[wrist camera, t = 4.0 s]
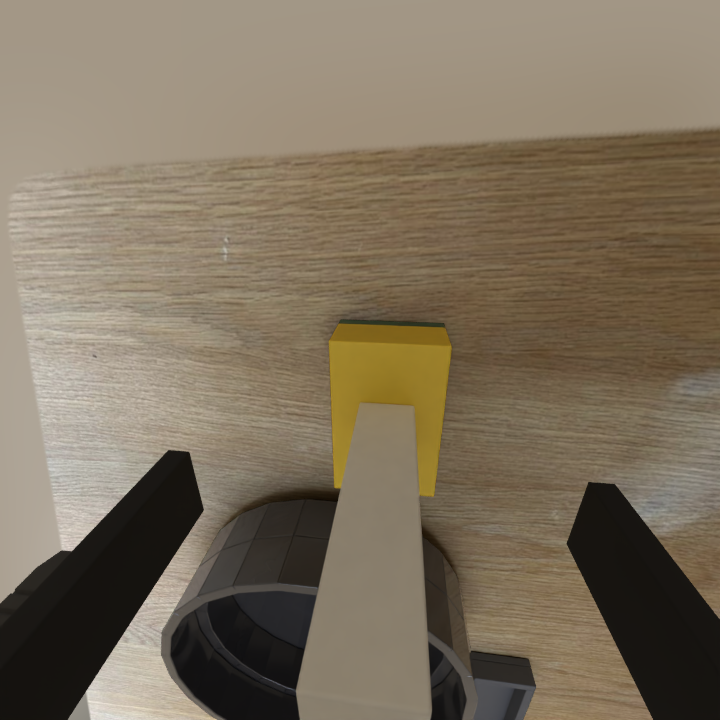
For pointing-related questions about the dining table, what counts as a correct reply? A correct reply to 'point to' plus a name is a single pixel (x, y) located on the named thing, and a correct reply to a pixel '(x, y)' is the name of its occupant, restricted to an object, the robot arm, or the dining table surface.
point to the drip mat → (502, 686)
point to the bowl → (290, 618)
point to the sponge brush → (377, 524)
